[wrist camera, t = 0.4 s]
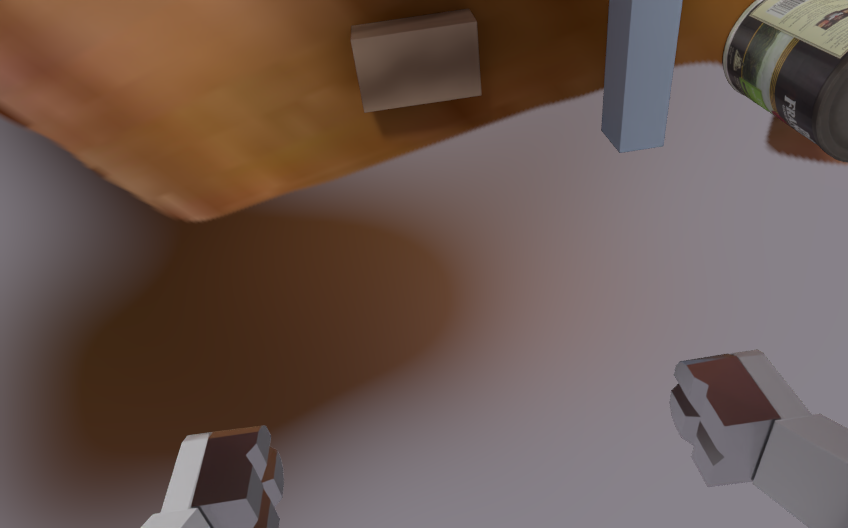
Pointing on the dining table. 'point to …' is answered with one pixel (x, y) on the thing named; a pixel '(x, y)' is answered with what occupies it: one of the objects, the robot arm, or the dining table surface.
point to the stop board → (639, 71)
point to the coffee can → (795, 66)
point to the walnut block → (417, 60)
